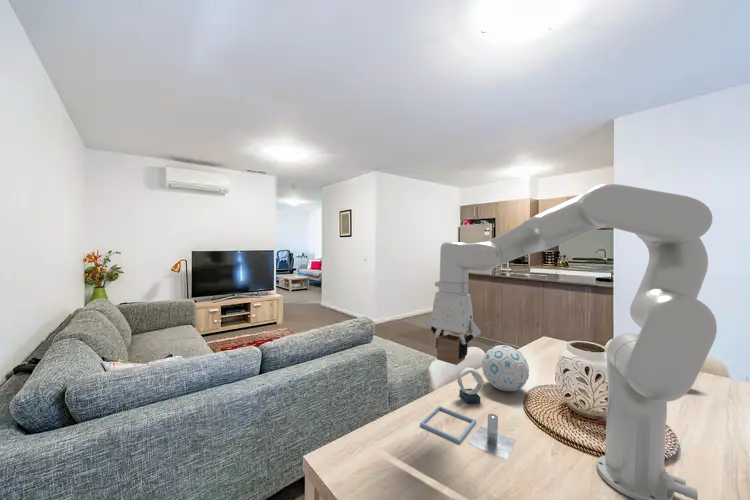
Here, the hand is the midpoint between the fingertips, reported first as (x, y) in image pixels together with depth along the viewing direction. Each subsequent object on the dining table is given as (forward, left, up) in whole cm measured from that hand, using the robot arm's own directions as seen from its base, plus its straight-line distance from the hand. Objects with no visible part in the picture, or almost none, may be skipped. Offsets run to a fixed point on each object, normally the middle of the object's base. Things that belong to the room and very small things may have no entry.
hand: (451, 353), depth 80 cm
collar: (0, 0, -1) cm, 1 cm away
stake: (-11, -1, -21) cm, 24 cm away
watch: (+1, -17, -21) cm, 27 cm away
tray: (0, 0, -21) cm, 21 cm away
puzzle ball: (-5, -34, -21) cm, 40 cm away
